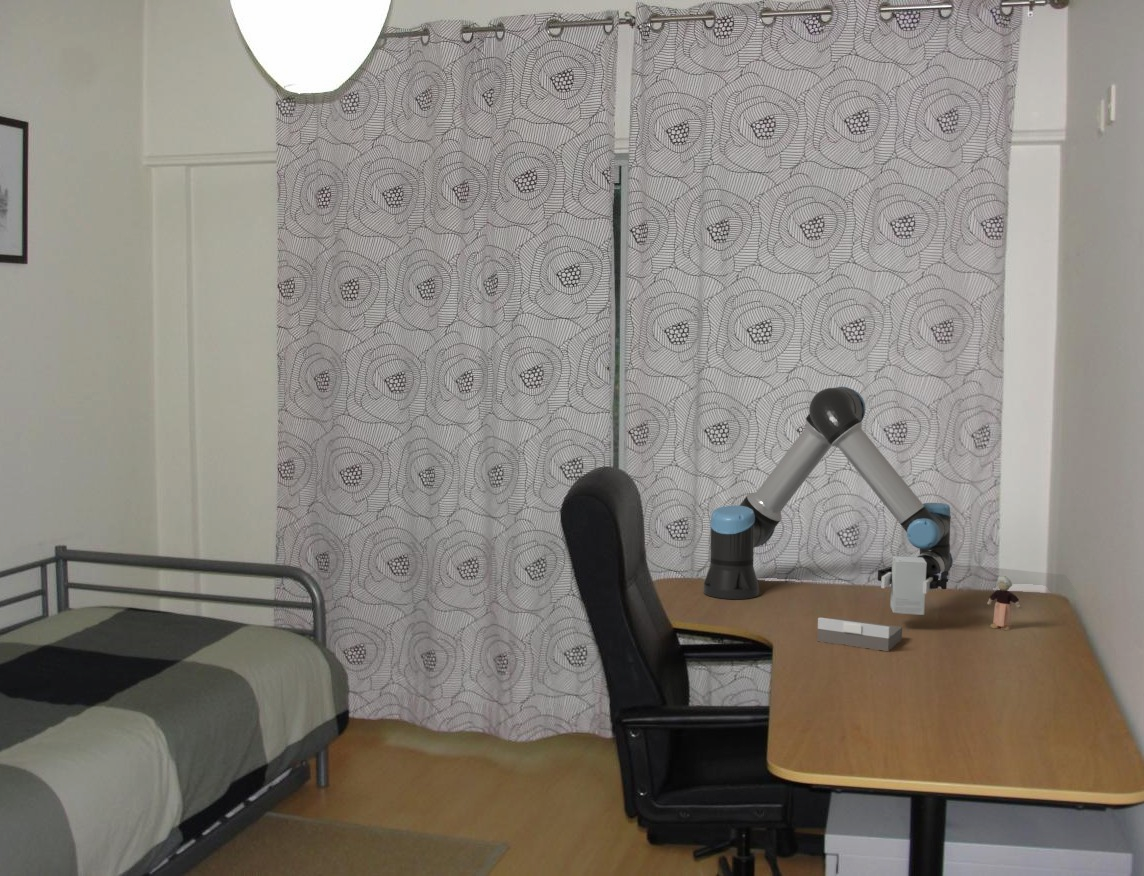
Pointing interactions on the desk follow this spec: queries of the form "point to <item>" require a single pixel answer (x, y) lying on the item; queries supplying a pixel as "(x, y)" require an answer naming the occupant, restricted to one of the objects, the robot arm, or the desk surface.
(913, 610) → the supplement box
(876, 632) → the shelf board
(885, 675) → the desk surface
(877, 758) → the desk surface
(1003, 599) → the grandmother figurine
